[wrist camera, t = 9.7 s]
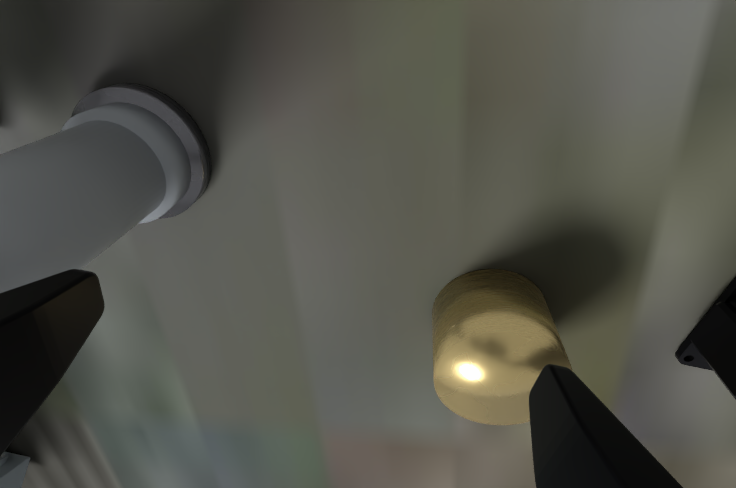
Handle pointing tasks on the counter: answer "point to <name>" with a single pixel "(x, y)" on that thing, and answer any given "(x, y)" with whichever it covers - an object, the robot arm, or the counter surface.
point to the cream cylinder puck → (492, 345)
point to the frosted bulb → (85, 189)
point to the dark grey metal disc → (175, 119)
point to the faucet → (12, 470)
